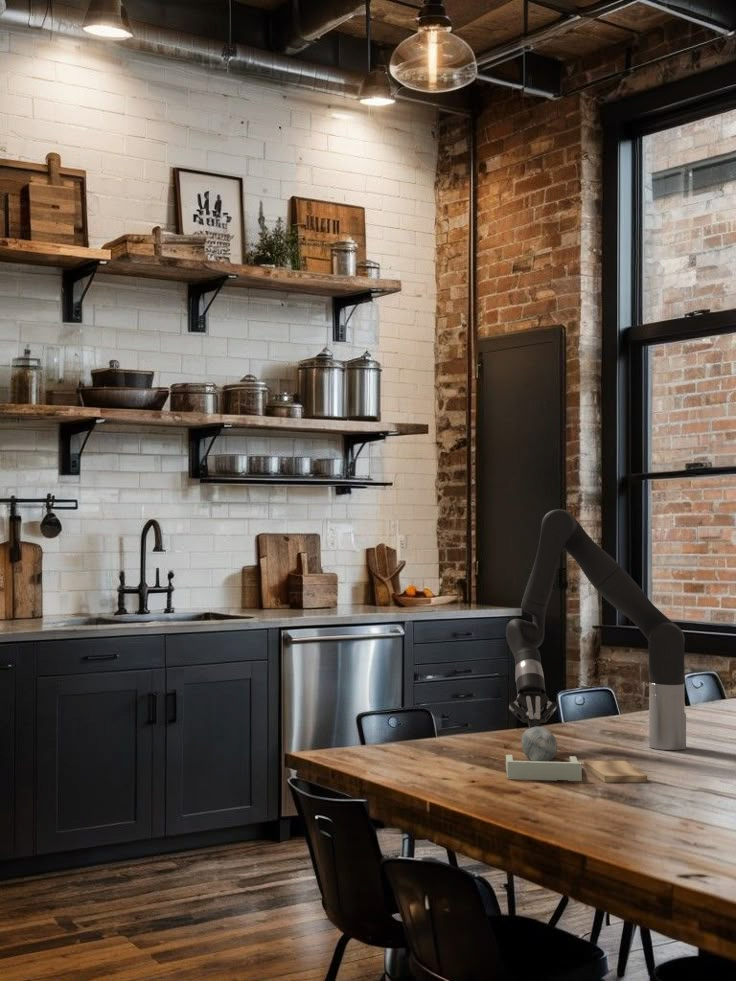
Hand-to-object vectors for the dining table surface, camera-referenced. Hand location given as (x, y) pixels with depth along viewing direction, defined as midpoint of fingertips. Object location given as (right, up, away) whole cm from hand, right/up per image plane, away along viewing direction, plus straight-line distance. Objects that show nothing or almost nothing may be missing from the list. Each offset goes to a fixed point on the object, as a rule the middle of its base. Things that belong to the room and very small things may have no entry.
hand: (535, 734), depth 311 cm
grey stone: (0, -5, -7) cm, 9 cm away
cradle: (-2, -5, -23) cm, 23 cm away
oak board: (+15, -5, -25) cm, 29 cm away
